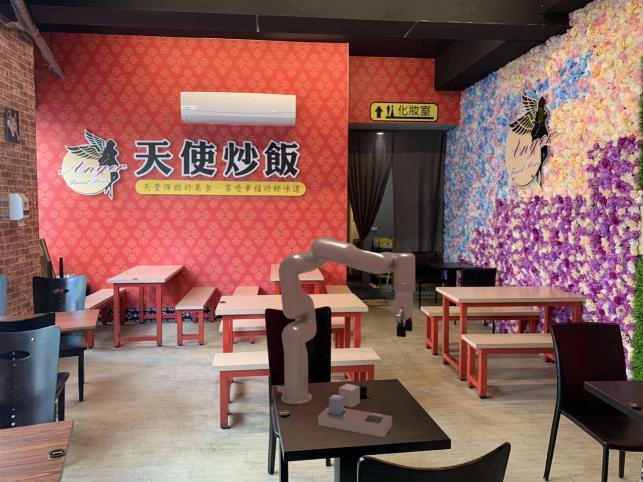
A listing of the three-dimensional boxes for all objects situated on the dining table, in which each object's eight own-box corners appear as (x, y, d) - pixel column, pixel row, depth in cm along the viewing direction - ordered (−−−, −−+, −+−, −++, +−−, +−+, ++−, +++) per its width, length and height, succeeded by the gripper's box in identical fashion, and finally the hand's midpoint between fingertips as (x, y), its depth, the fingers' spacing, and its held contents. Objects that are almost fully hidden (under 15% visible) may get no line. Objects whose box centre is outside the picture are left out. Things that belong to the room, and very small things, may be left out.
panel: (318, 426, 165) (317, 415, 165) (329, 416, 175) (329, 405, 174) (383, 439, 155) (383, 427, 155) (392, 427, 165) (392, 415, 164)
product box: (347, 401, 189) (347, 383, 189) (360, 404, 186) (360, 386, 186) (338, 405, 184) (338, 387, 184) (351, 409, 181) (351, 390, 181)
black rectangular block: (348, 392, 200) (348, 381, 200) (364, 390, 203) (364, 380, 202) (359, 402, 189) (359, 391, 188) (376, 400, 191) (376, 389, 191)
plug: (329, 423, 167) (329, 397, 167) (333, 419, 171) (333, 393, 170) (339, 425, 165) (339, 398, 165) (343, 420, 169) (343, 394, 168)
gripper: (400, 283, 180) (400, 328, 181) (388, 289, 165) (388, 338, 165) (419, 284, 177) (419, 329, 178) (409, 290, 161) (409, 340, 162)
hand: (404, 333), depth 172 cm, fingers open, 9 cm apart
